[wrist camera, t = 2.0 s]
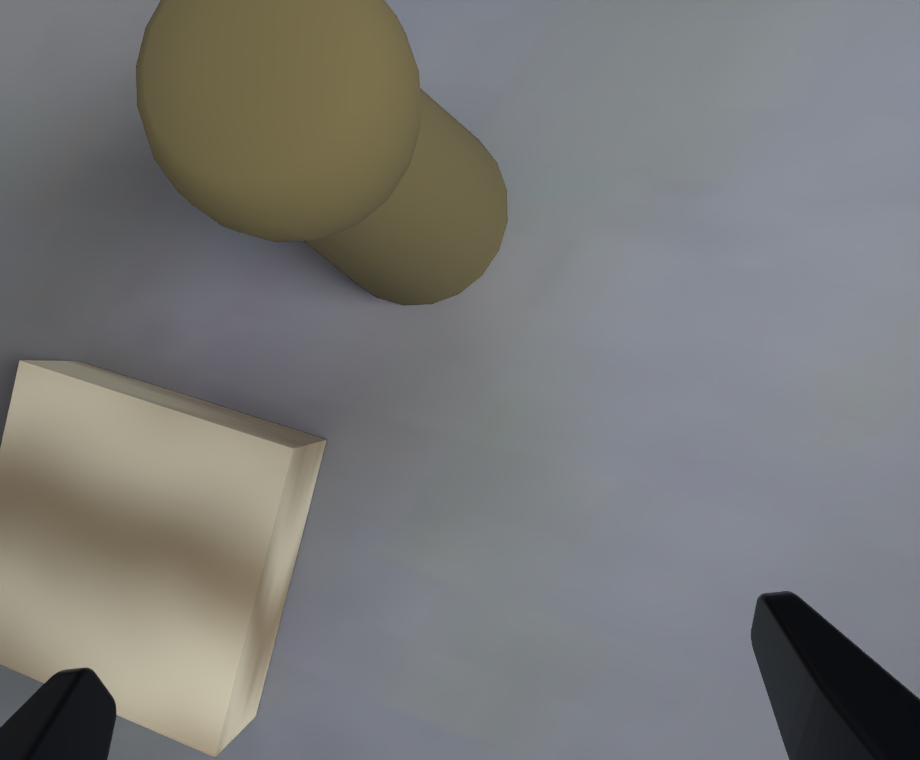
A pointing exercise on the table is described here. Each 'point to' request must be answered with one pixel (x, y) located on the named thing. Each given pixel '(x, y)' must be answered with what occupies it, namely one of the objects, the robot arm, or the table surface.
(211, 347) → the table surface
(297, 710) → the table surface
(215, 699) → the block
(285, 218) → the cork
